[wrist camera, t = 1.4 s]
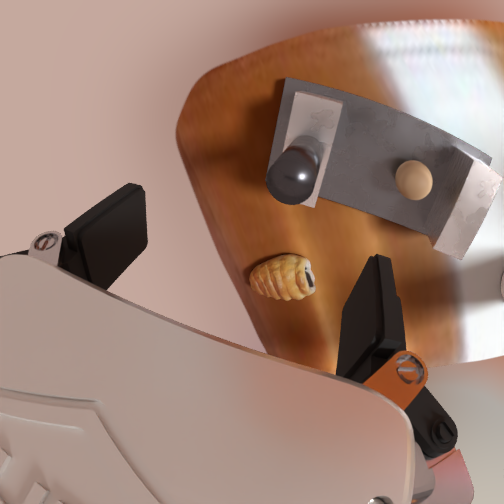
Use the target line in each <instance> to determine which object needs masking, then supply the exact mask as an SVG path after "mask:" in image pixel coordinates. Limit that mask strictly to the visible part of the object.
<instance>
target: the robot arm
mask: <svg viewBox="0 0 504 504" xmlns="http://www.w3.org/2000/svg"><path fill="white" fill-rule="evenodd" d="M64 232H65V236H64V237H63V238H62V235H61V234H60V233H59V232H56V231H48V232H44V233H42V234H40V235H38V236H37V237H36V238H35V239H34V240H33V241H32V243H31V246H30V249H29V250H25V251H21V252H17V253H12V254H8V255H4V256H0V504H471V502H472V500H473V497H474V488H473V484H472V481H471V479H470V475H469V473H468V470H467V467H466V465H465V462H464V459H463V456H462V454H461V451H460V449H458V450H456V449H455V444H456V442H457V437H458V435H457V428H456V425H455V423H454V421H453V420H452V419H451V417H449V415H448V414H447V412H446V411H445V410H444V409H443V408H442V406H441V405H440V404H439V403H438V401H437V400H436V399H435V398H434V396H433V395H432V394H431V393H430V392H429V390H428V389H427V388H426V387H425V386H424V385H425V384H426V382H427V380H428V370H427V367H426V365H425V362H424V361H423V360H422V359H421V357H419V356H418V355H417V354H415V353H413V352H411V351H406V341H405V331H404V322H403V314H402V307H401V300H400V298H399V297H398V296H397V295H396V288H395V282H394V276H393V270H392V264H391V259H390V258H388V257H385V256H382V255H379V254H376V255H375V256H374V257H373V256H370V257H369V259H368V261H367V263H366V265H365V267H364V269H363V271H362V273H361V275H360V277H359V279H358V281H357V283H356V284H355V286H354V288H353V290H352V292H351V294H350V296H349V298H348V300H347V301H346V303H345V305H344V308H343V311H342V321H341V332H340V342H339V352H338V360H337V368H336V375H334V374H331V373H327V372H324V371H321V370H317V369H314V368H310V367H307V366H303V365H300V364H297V363H294V362H290V361H287V360H284V359H281V358H278V357H275V356H271V355H268V354H265V353H262V352H259V351H256V350H253V349H249V348H247V347H243V346H241V345H238V344H235V343H232V342H230V341H227V340H224V339H221V338H219V337H216V336H213V335H210V334H208V333H205V332H202V331H200V330H197V329H195V328H192V327H189V326H187V325H184V324H182V323H179V322H177V321H174V320H172V319H169V318H167V317H165V316H162V315H160V314H158V313H155V312H153V311H151V310H148V309H146V308H143V307H141V306H139V305H137V304H134V303H132V302H130V301H128V300H125V299H123V298H121V297H119V296H117V295H115V294H112V293H110V292H108V291H106V290H107V289H108V288H109V287H110V286H111V285H112V284H113V283H114V281H115V280H116V279H117V278H118V277H119V276H120V275H121V274H122V273H123V272H124V270H126V268H127V267H128V266H129V265H130V264H131V263H132V262H133V261H134V260H135V259H136V258H137V257H138V256H139V255H140V254H141V253H142V252H143V251H144V250H145V248H146V247H147V243H148V240H147V239H148V238H147V222H146V202H145V191H144V190H143V188H142V186H141V185H137V184H132V183H128V184H126V185H124V186H123V187H121V188H120V189H118V190H117V191H115V192H114V193H112V194H111V195H109V196H108V197H106V198H105V199H104V200H102V201H101V202H99V203H98V204H96V205H95V206H94V207H92V208H91V209H89V210H88V211H87V212H85V213H84V214H82V215H81V216H80V217H78V218H77V219H76V220H74V221H73V222H72V223H70V224H69V225H68V226H67V227H65V228H64ZM501 293H502V296H503V298H504V273H503V276H502V280H501Z"/></svg>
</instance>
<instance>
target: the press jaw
mask: <svg viewBox="0 0 504 504" xmlns="http://www.w3.org/2000/svg"><path fill="white" fill-rule="evenodd" d="M342 106H343V101H341V100H337V99H334V98H330V97H327V96H323V95H319V94H315V93H311V92H307V91H297V92H295V96H294V101H293V106H292V111H291V115H290V120H289V125H288V129H287V134H286V139H285V143H284V148H283V153H282V154H281V155H280V156H279V158H278V159H277V160H276V161H275V162H274V164H273V165H272V166H271V167H270V169H269V170H268V172H267V176H266V184H267V188H268V190H269V192H270V193H271V195H272V196H273V197H274V198H275V199H276V200H278V201H280V202H282V203H284V204H289V205H296V204H303V205H306V206H310V207H313V208H314V207H315V204H316V200H317V197H318V194H319V190H320V187H321V183H322V180H323V176H324V173H325V169H326V166H327V162H328V159H329V155H330V152H331V148H332V144H333V141H334V137H335V133H336V129H337V125H338V122H339V118H340V114H341V110H342Z"/></svg>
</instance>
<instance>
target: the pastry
mask: <svg viewBox="0 0 504 504" xmlns="http://www.w3.org/2000/svg"><path fill="white" fill-rule="evenodd" d="M249 281H250V284H251V289H252V290H254V291H256V292H257V293H259V294H261V295H265V296H266V297H273V298H275V299H276V300H278V299H283V300H286V301H289V300H290V299H292V298H293V299H295V300H301V299H303V298H304V297H305V296H308V295H311V294H313V293H314V292H315V290H316V287H315V283H314V281H315V277H314V275H313V273H312V271H311V264H310V262H309V260H308V259H306V258H304V257H302V256H298V255H295V254H287V255H281V256H278V257H275V258H272V259H270V260H268V261H266V262H264V263H262V264H260V265H258V266H256V267H255V268H254V269H253V270H252V272H251V274H250V277H249Z"/></svg>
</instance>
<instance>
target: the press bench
mask: <svg viewBox="0 0 504 504" xmlns="http://www.w3.org/2000/svg"><path fill="white" fill-rule="evenodd" d="M297 91H307V92H311V93H315V94H319V95H323V96H327V97H330V98H334V99H337V100H341V101H343V106H342V110H341V114H340V118H339V122H338V125H337V129H336V133H335V137H334V141H333V144H332V148H331V152H330V155H329V159H328V162H327V166H326V169H325V173H324V176H323V180H322V183H321V187H320V190H319V194H318V196H319V197H322V198H325V199H328V200H332V201H335V202H338V203H341V204H344V205H347V206H350V207H353V208H356V209H359V210H361V211H364V212H367V213H370V214H373V215H376V216H378V217H381V218H384V219H387V220H389V221H392V222H395V223H397V224H400V225H403V226H405V227H408V228H410V229H413V230H416V231H418V232H421V233H423V234H426V235H428V237H429V240H430V242H431V245H432V247H433V249H435V250H438V251H440V252H443V253H445V254H448V255H450V256H452V257H455V258H457V259H460V260H462V258H463V257H464V255H465V253H466V252H467V250H468V248H469V246H470V245H471V243H472V241H473V239H474V237H475V236H476V234H477V232H478V230H479V228H480V226H481V224H482V222H483V220H484V218H485V216H486V214H487V212H488V210H489V208H490V206H491V204H492V202H493V200H494V197H495V195H496V193H497V191H498V188H499V186H500V184H501V181H502V179H503V177H502V176H500V175H499V174H498V173H497V172H495V171H494V170H493V169H492V168H490V167H489V165H490V163H491V160H492V158H491V157H490V156H488V155H487V154H485V153H483V152H482V151H480V150H478V149H477V148H475V147H473V146H472V145H470V144H468V143H466V142H464V141H463V140H461V139H459V138H457V137H455V136H453V135H451V134H449V133H447V132H445V131H443V130H441V129H439V128H437V127H435V126H433V125H431V124H429V123H427V122H425V121H422V120H420V119H418V118H416V117H413V116H411V115H409V114H406V113H404V112H401V111H399V110H396V109H394V108H391V107H389V106H386V105H383V104H381V103H378V102H375V101H372V100H369V99H366V98H363V97H360V96H357V95H354V94H351V93H348V92H344V91H341V90H338V89H334V88H330V87H327V86H323V85H319V84H315V83H311V82H307V81H303V80H298V79H294V78H289V77H286V80H285V85H284V90H283V95H282V100H281V105H280V110H279V115H278V120H277V125H276V130H275V135H274V140H273V145H272V150H271V155H270V160H269V165H268V170H269V169H270V167H271V166H272V165H273V164H274V162H275V161H276V160H277V159H278V158H279V156H280V155H281V154H282V153H283V148H284V143H285V139H286V134H287V129H288V125H289V120H290V115H291V111H292V106H293V101H294V96H295V92H297ZM410 160H415V161H419V162H421V163H423V164H424V165H425V166H426V167H427V168H428V169H429V171H430V173H431V175H432V181H433V182H432V188H431V191H430V192H429V194H428V195H427V196H426V197H424V198H423V199H420V200H410V199H408V198H406V197H404V196H403V195H402V194H401V193H400V192H399V190H398V188H397V186H396V182H395V176H396V172H397V169H398V168H399V167H400V165H401V164H403V163H404V162H406V161H410ZM268 170H267V172H268ZM266 176H267V175H266ZM265 181H266V180H265Z"/></svg>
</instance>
